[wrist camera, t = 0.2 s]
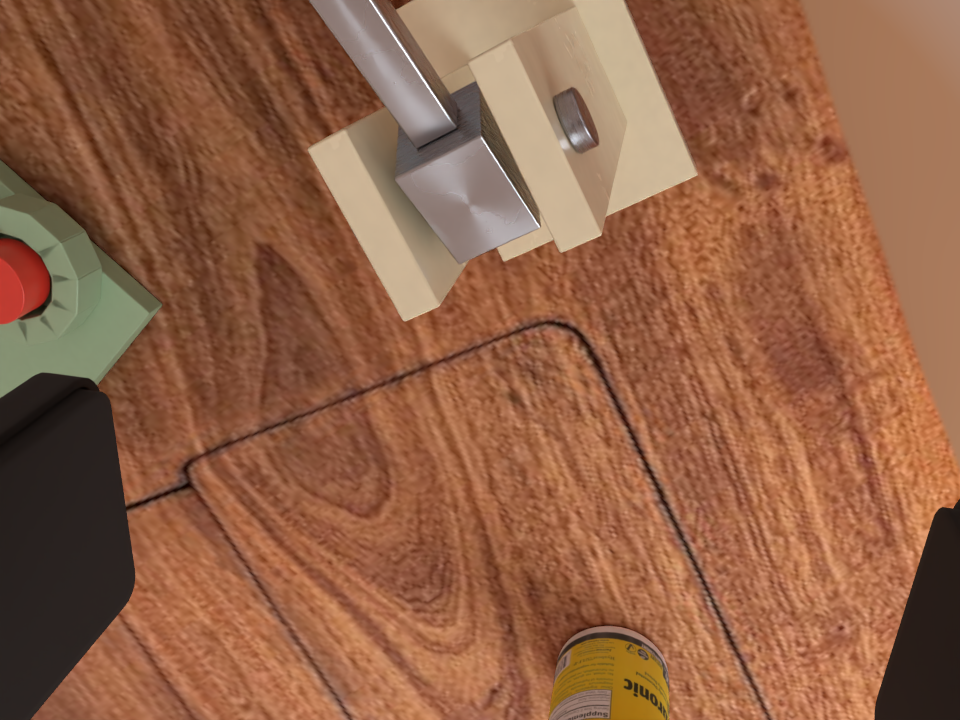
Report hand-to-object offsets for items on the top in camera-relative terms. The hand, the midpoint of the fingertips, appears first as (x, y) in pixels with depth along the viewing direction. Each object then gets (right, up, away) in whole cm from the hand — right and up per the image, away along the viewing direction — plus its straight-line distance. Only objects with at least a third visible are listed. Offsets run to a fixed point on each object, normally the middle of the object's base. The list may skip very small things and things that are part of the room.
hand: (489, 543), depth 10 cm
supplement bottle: (+6, -13, +33) cm, 36 cm away
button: (-20, +6, +28) cm, 34 cm away
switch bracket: (+2, +12, +23) cm, 26 cm away
